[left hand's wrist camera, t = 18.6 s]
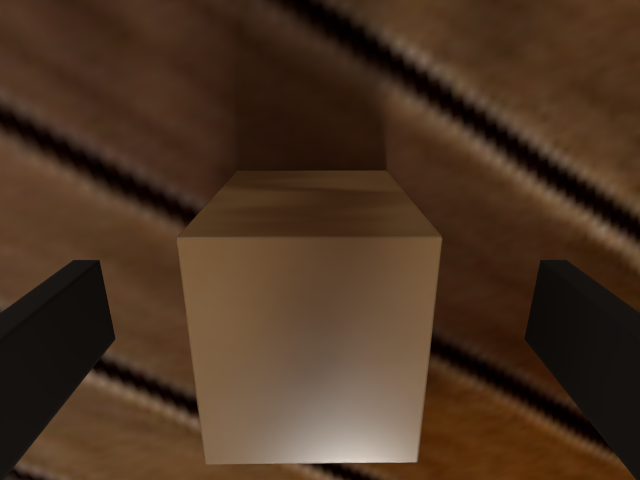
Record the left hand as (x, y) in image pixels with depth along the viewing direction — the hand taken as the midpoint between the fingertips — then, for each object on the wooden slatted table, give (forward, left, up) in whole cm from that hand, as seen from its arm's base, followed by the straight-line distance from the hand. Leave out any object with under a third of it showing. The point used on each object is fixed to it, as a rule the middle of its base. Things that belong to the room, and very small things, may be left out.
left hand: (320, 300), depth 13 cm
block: (0, 0, -4) cm, 4 cm away
